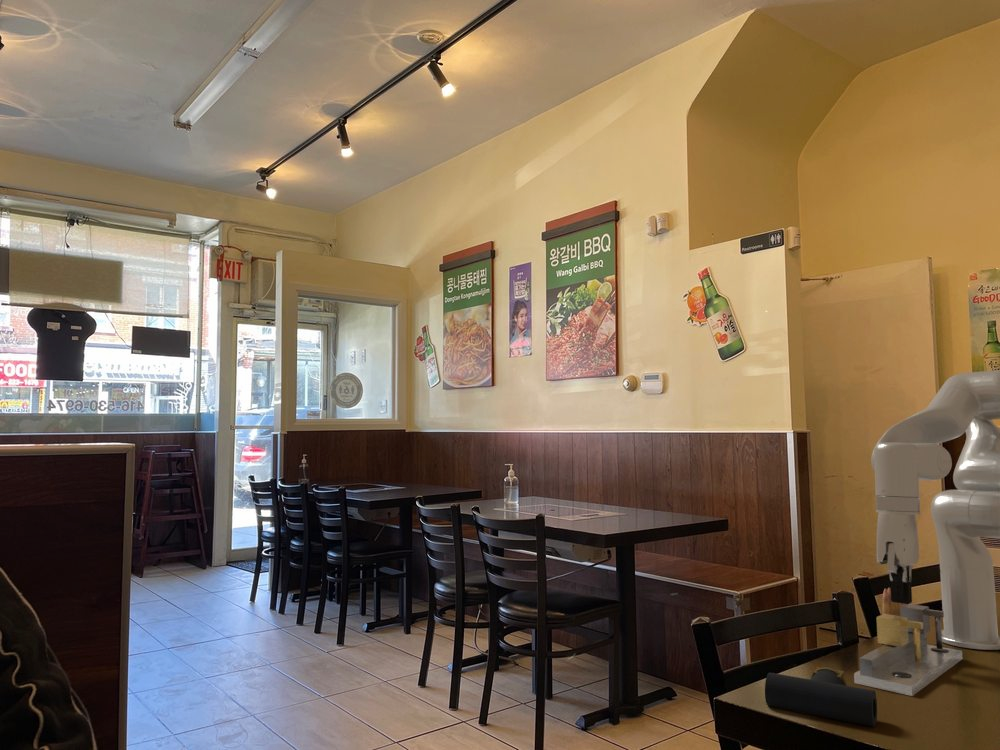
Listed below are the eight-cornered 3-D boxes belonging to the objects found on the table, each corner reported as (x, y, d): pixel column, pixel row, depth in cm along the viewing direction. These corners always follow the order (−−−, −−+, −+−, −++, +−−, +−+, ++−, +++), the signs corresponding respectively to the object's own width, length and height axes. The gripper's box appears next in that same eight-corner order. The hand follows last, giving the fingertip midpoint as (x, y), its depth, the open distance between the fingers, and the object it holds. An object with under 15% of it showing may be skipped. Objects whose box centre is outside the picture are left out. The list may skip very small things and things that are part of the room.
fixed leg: (908, 640, 142) (906, 603, 143) (948, 647, 137) (946, 609, 138) (902, 644, 140) (899, 606, 140) (942, 651, 135) (940, 612, 135)
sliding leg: (886, 653, 133) (884, 613, 134) (927, 660, 128) (925, 620, 129) (878, 657, 131) (876, 617, 131) (920, 665, 126) (918, 623, 126)
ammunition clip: (891, 650, 142) (888, 589, 144) (882, 648, 144) (878, 588, 145) (913, 641, 149) (910, 583, 150) (904, 639, 150) (900, 582, 152)
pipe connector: (782, 657, 120) (881, 673, 112) (783, 689, 120) (883, 708, 111) (764, 676, 111) (870, 695, 102) (765, 711, 110) (873, 733, 102)
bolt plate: (910, 649, 143) (909, 627, 143) (962, 659, 136) (961, 635, 137) (854, 683, 122) (853, 656, 123) (912, 696, 116) (910, 668, 116)
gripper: (890, 503, 146) (893, 595, 144) (863, 505, 136) (866, 604, 134) (931, 506, 141) (935, 601, 138) (906, 508, 130) (910, 610, 128)
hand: (901, 602), depth 136 cm, fingers closed
